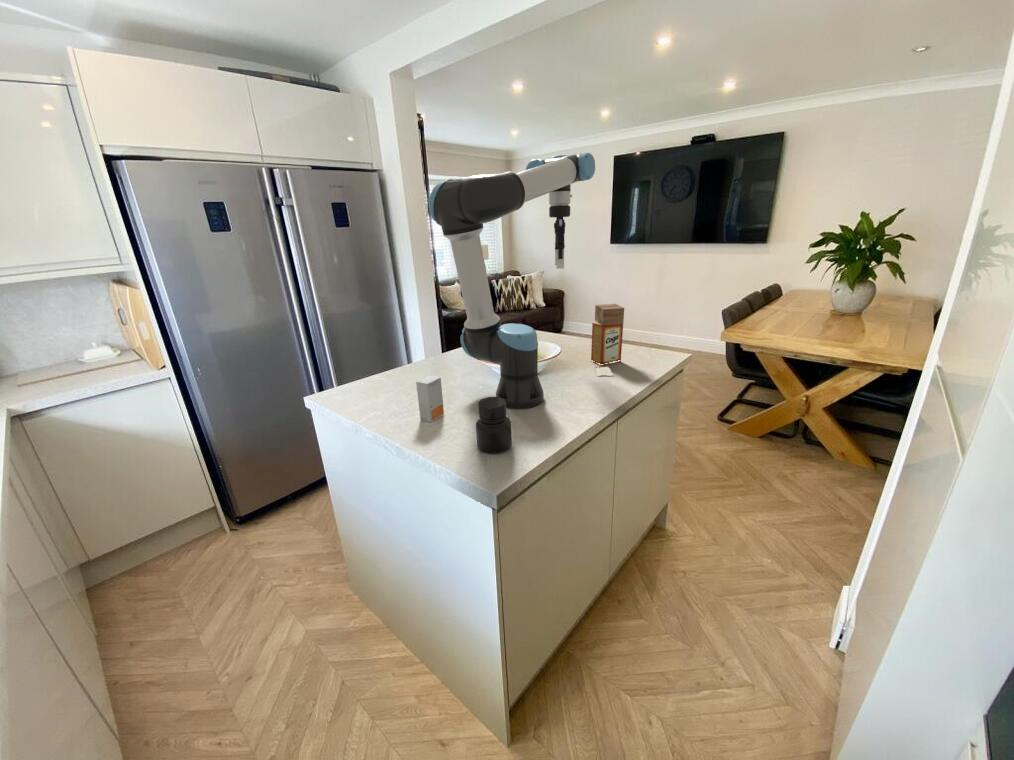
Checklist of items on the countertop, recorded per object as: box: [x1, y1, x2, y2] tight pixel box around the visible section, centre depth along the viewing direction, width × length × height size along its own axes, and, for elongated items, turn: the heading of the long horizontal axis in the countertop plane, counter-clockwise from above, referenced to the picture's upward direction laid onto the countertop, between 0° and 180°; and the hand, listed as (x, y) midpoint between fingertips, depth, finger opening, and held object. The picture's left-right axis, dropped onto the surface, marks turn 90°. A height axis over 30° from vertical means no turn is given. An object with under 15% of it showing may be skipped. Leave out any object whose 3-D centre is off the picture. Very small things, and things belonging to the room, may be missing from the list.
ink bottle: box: [475, 396, 513, 455], centre depth 98 cm, size 10×9×12 cm
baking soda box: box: [590, 321, 624, 364], centre depth 156 cm, size 10×6×16 cm
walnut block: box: [594, 303, 625, 325], centre depth 152 cm, size 9×8×6 cm
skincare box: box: [415, 375, 445, 423], centre depth 115 cm, size 6×4×12 cm
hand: (559, 266), depth 150 cm, fingers open, 13 cm apart
